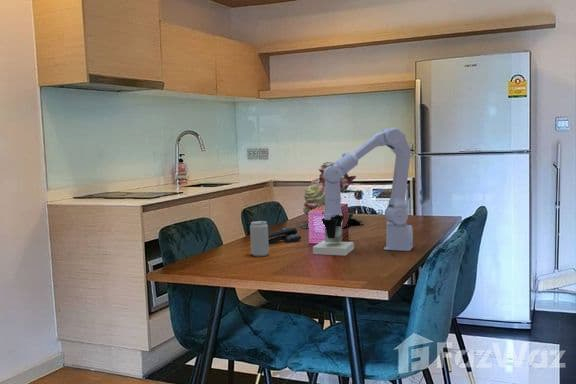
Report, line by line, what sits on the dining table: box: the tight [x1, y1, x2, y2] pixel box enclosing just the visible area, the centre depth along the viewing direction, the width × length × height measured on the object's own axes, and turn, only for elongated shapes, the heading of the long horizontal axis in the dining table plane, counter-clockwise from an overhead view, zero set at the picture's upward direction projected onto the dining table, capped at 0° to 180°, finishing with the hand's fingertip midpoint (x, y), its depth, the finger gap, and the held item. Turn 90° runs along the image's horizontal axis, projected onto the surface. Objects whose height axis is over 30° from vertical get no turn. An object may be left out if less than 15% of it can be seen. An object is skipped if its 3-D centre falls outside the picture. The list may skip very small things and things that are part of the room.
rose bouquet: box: [300, 161, 365, 229], centre depth 259 cm, size 26×29×30 cm
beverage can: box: [249, 220, 270, 257], centre depth 200 cm, size 6×6×12 cm
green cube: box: [324, 226, 343, 243], centre depth 202 cm, size 5×5×5 cm
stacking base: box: [312, 240, 355, 256], centre depth 203 cm, size 12×12×2 cm
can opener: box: [268, 227, 302, 245], centre depth 223 cm, size 18×7×6 cm, turn 121°
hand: (333, 236), depth 202 cm, fingers closed on green cube, 5 cm apart
